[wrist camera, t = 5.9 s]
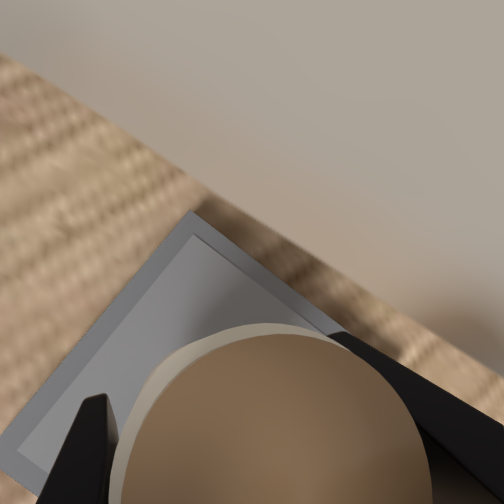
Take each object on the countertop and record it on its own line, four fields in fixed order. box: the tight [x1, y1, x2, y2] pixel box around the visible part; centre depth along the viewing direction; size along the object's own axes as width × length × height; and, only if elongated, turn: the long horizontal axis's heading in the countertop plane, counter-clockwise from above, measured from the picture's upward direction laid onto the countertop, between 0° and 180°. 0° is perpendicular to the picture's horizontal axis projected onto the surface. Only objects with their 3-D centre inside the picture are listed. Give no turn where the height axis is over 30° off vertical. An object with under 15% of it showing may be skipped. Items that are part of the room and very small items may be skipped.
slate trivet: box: [0, 210, 352, 497], centre depth 19 cm, size 12×12×1 cm
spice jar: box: [109, 323, 433, 504], centre depth 11 cm, size 4×4×10 cm
